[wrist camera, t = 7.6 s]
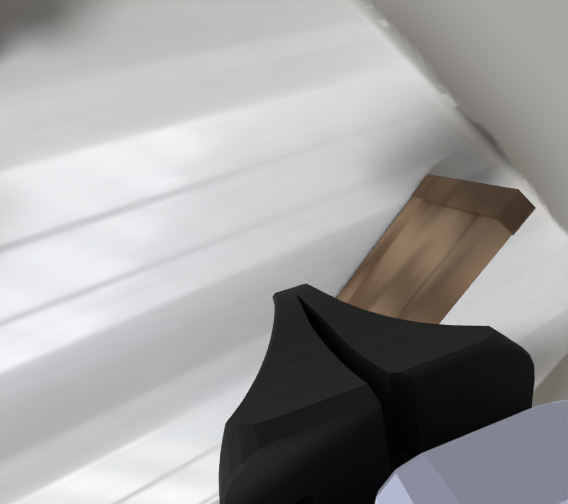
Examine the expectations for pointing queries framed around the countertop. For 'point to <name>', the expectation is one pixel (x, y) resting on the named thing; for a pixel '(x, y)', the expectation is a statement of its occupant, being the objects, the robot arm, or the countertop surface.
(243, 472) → the robot arm
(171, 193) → the countertop surface
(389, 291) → the gate
